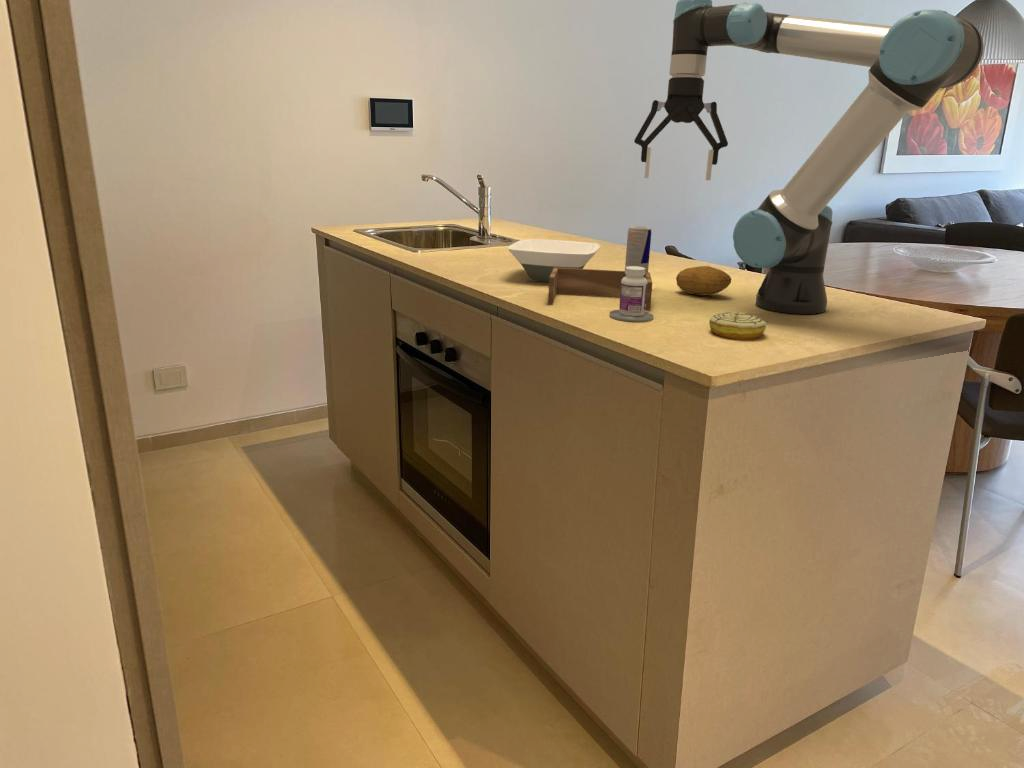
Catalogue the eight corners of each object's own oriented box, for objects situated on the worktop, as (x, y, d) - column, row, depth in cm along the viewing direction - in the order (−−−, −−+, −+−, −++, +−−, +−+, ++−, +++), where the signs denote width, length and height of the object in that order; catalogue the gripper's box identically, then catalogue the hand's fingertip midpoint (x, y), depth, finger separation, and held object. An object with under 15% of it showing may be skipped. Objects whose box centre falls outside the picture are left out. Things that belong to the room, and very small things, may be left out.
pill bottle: (627, 310, 163) (631, 264, 160) (649, 314, 159) (653, 267, 156) (613, 314, 159) (617, 267, 156) (636, 318, 155) (640, 270, 152)
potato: (691, 288, 192) (694, 260, 189) (736, 297, 183) (739, 268, 180) (668, 292, 186) (671, 264, 184) (713, 302, 177) (716, 272, 175)
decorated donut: (766, 332, 152) (769, 313, 150) (762, 344, 142) (765, 324, 141) (712, 325, 155) (714, 307, 154) (704, 337, 146) (707, 317, 144)
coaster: (662, 318, 159) (662, 315, 159) (634, 324, 153) (634, 321, 153) (628, 310, 165) (628, 307, 165) (600, 315, 159) (600, 312, 159)
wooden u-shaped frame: (552, 292, 181) (553, 267, 179) (647, 298, 178) (649, 272, 176) (547, 304, 168) (549, 277, 166) (649, 310, 165) (652, 283, 164)
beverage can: (646, 291, 186) (651, 228, 181) (622, 290, 187) (627, 227, 182) (646, 287, 191) (652, 226, 186) (624, 286, 192) (628, 225, 187)
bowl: (501, 283, 190) (502, 249, 188) (522, 268, 212) (523, 237, 209) (589, 290, 186) (591, 255, 183) (601, 274, 207) (604, 243, 204)
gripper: (743, 80, 168) (731, 180, 175) (628, 77, 171) (620, 175, 178) (748, 77, 161) (736, 182, 168) (628, 74, 164) (621, 177, 171)
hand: (677, 179), depth 173 cm, fingers open, 13 cm apart
